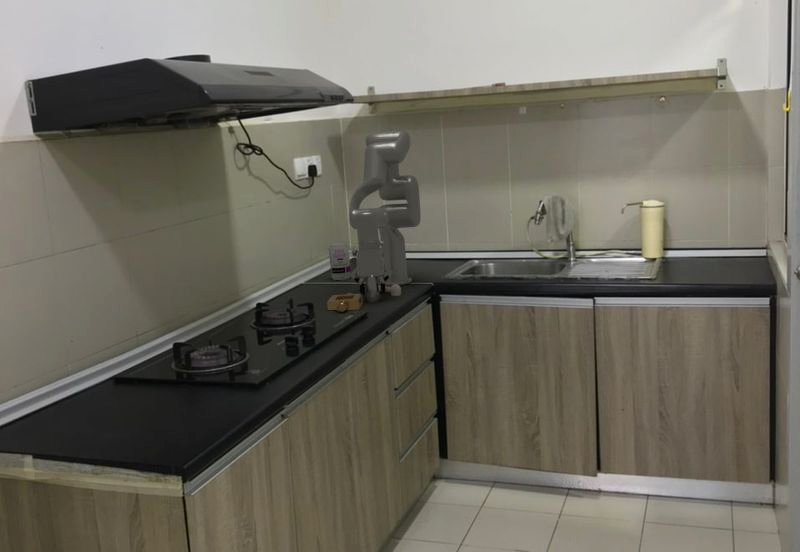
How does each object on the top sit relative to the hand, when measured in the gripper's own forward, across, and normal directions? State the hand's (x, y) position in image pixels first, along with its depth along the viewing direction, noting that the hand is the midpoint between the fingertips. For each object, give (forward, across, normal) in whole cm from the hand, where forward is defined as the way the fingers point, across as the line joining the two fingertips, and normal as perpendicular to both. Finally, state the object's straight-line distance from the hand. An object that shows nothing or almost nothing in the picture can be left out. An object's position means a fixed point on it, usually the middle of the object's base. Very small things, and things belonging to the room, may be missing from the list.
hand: (373, 293), depth 309 cm
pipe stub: (+3, 0, 0) cm, 3 cm away
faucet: (+3, -2, -14) cm, 14 cm away
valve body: (+3, +9, +8) cm, 12 cm away
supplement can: (+3, +20, -50) cm, 54 cm away
